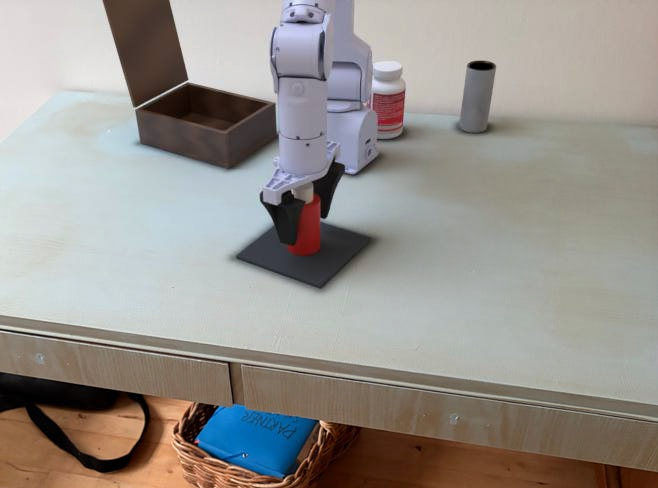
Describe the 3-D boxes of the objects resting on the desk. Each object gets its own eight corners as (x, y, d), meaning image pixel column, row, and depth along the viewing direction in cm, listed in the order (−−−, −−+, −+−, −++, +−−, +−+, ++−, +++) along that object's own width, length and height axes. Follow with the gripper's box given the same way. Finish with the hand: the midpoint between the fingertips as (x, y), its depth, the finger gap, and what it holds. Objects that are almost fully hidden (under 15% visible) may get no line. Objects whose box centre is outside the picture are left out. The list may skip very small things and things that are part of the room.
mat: (371, 240, 100) (371, 237, 100) (320, 288, 92) (320, 285, 92) (290, 214, 106) (290, 212, 106) (235, 258, 98) (235, 255, 98)
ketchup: (326, 243, 99) (327, 181, 93) (308, 259, 97) (308, 196, 91) (298, 234, 101) (297, 173, 95) (280, 249, 99) (278, 187, 93)
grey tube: (471, 119, 128) (480, 58, 121) (492, 127, 125) (502, 65, 118) (453, 126, 126) (461, 65, 119) (473, 135, 123) (482, 72, 116)
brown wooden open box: (276, 136, 126) (275, 102, 122) (228, 169, 117) (225, 133, 114) (191, 114, 134) (187, 82, 130) (140, 143, 126) (134, 109, 122)
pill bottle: (409, 133, 125) (415, 66, 117) (381, 143, 122) (385, 75, 115) (385, 121, 128) (389, 55, 121) (357, 130, 126) (360, 64, 119)
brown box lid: (159, -43, 119) (140, -41, 121) (98, -22, 111) (80, -20, 113) (188, 80, 130) (171, 79, 132) (135, 107, 122) (118, 107, 124)
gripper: (307, 101, 95) (308, 197, 104) (239, 145, 86) (246, 246, 95) (355, 112, 91) (352, 211, 100) (290, 159, 83) (293, 262, 92)
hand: (304, 229), depth 97 cm, fingers open, 7 cm apart
